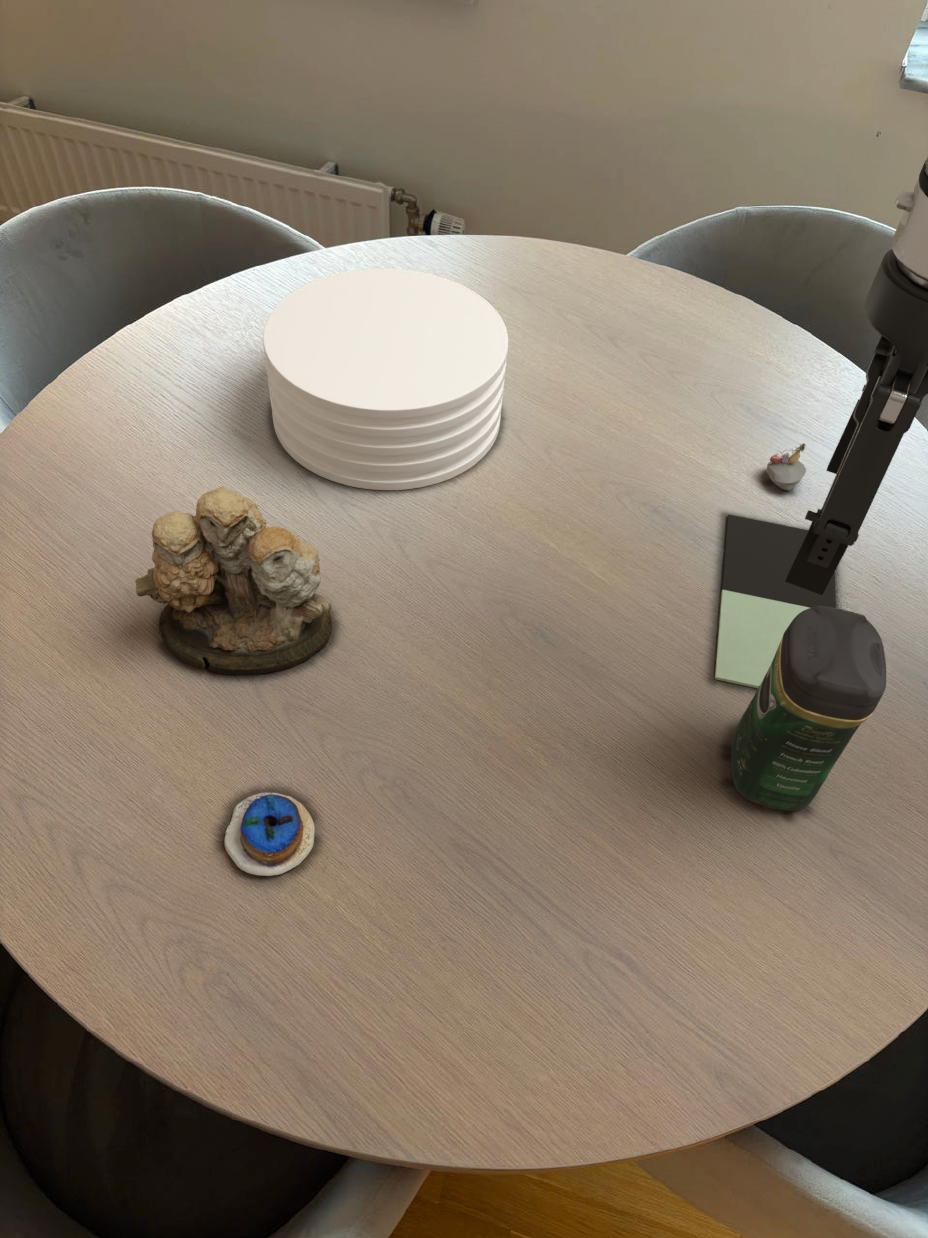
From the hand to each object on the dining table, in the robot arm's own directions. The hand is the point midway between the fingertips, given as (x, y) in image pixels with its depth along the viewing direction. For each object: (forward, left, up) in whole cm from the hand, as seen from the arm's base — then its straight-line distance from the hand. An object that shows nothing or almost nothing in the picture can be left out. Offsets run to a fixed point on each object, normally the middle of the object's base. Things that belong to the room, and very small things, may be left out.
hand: (825, 526), depth 72 cm
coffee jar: (-6, -1, -26) cm, 27 cm away
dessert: (-1, +45, -26) cm, 51 cm away
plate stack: (+52, +22, -26) cm, 62 cm away
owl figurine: (+22, +44, -26) cm, 55 cm away
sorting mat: (+12, -11, -26) cm, 30 cm away
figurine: (+29, -21, -26) cm, 45 cm away
